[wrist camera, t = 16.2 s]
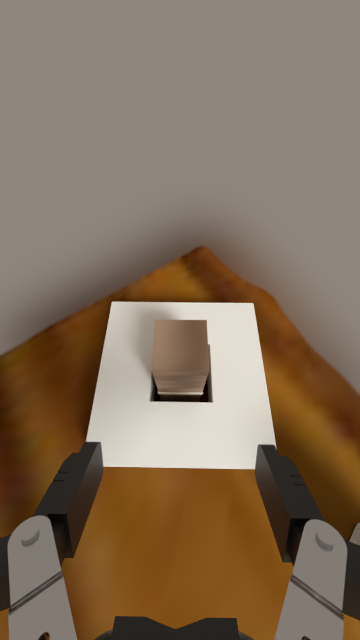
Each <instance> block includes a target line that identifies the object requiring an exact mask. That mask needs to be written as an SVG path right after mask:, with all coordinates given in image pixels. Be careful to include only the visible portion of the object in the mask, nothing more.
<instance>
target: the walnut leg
mask: <svg viewBox="0 0 360 640" xmlns="http://www.w3.org/2000/svg"><path fill="white" fill-rule="evenodd" d="M151 371H152V374H153V377H154V380H155V383H156V386H157V388H158V394H160V397H161V400H162V401H168V402H199V401H200V398H201V395H202V394H203V388H204V385H205V382H206V379H207V376H208V373H209V355H208V336H207V320H155V324H154V338H153V352H152V366H151Z"/></svg>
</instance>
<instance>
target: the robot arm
mask: <svg viewBox="0 0 360 640" xmlns="http://www.w3.org/2000/svg"><path fill="white" fill-rule="evenodd" d="M102 474H103V457H102V447H101V442H84V444H83V446H82V448H81V450H80V452H79V453H72V454H71V455H70V456H69V457H68V458H67V459H66V460H65V461H64V462H63V463H62V465H61V467H60V469H59V471H58V473H57V474H56V476H55V478H54V479H53V482H52V483H51V485H50V486H49V488H48V490H47V492H46V493H45V495H44V497H43V499H42V500H41V502H40V504H39V506H38V507H37V509H36V511H35V513H34V514H33V516H32V517H31V518H29V519H27V520H26V521H24V522H23V523H21V524H20V525H19V526H18V527H17V528H16V529H15V531H14V532H13V533H12V534H10V535H8V536H5V537H2V538H0V611H2V610H5V609H7V608H10V607H11V608H10V609H9V640H77V637H76V632H75V628H74V623H73V619H72V614H71V610H70V605H69V601H68V596H67V592H66V587H65V583H64V578H63V574H62V571H61V566H62V563H63V560H64V558H74V555H75V552H76V549H77V546H78V544H79V541H80V538H81V535H82V532H83V530H84V527H85V524H86V521H87V518H88V516H89V513H90V510H91V507H92V504H93V501H94V499H95V496H96V493H97V490H98V487H99V485H100V482H101V479H102ZM255 476H256V481H257V485H258V488H259V491H260V494H261V497H262V500H263V503H264V506H265V509H266V512H267V515H268V518H269V521H270V524H271V527H272V530H273V533H274V537H275V540H276V543H277V546H278V549H279V552H280V555H281V558H282V561H283V562H292V564H293V567H294V569H293V573H292V576H291V578H290V581H289V585H288V589H287V593H286V597H285V601H284V605H283V608H282V612H281V616H280V620H279V624H278V628H277V632H276V636H275V639H274V640H342V638H343V626H344V615H343V614H342V613H344V614H346V615H349V616H351V617H353V618H355V619H358V620H360V545H357V544H354V543H352V542H349V541H347V540H345V539H343V538H342V536H341V535H340V534H339V532H338V531H337V530H336V529H335V528H333V527H332V526H331V525H329V524H328V523H326V522H325V520H324V518H323V516H322V515H321V513H320V511H319V509H318V507H317V505H316V503H315V501H314V500H313V498H312V496H311V494H310V492H309V490H308V488H307V487H306V486H305V483H304V481H303V479H302V478H301V475H300V473H299V472H298V470H297V468H296V466H295V465H294V464H293V463H292V462H291V461H290V460H289V459H288V458H287V457H286V456H280V455H279V453H278V451H277V449H276V447H275V445H272V444H259V445H258V447H257V456H256V465H255ZM95 640H253V639H252V638H250V637H249V636H247V635H246V634H244V633H242V632H239V631H238V625H237V619H236V618H205V619H202V620H199V621H197V622H194V623H192V624H189V625H186V626H184V627H181V628H178V629H173V628H170V627H168V626H166V625H163V624H161V623H159V622H156V621H154V620H151V619H149V618H147V617H127V616H115V621H114V626H113V629H112V630H109V631H107V632H105V633H104V634H102V635H100V636H99V637H97V638H96V639H95Z"/></svg>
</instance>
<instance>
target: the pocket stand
mask: <svg viewBox="0 0 360 640" xmlns="http://www.w3.org/2000/svg"><path fill="white" fill-rule="evenodd" d="M155 320H207V336H208V355H209V373H208V376H207V384H208V402H154V398H155V380H154V377H153V374H152V371H151V366H152V352H153V338H154V324H155ZM86 442H101V447H102V457H103V466H109V467H164V468H219V469H255V465H256V456H257V447H258V445H259V444H272V445H275V447H276V442H275V435H274V429H273V423H272V417H271V411H270V404H269V398H268V392H267V386H266V379H265V373H264V367H263V361H262V354H261V348H260V342H259V336H258V330H257V323H256V317H255V311H254V305H253V303H188V302H112V304H111V310H110V315H109V320H108V326H107V331H106V337H105V342H104V347H103V353H102V358H101V364H100V369H99V374H98V380H97V385H96V390H95V396H94V401H93V407H92V412H91V417H90V423H89V428H88V434H87V439H86ZM276 449H277V448H276Z"/></svg>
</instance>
